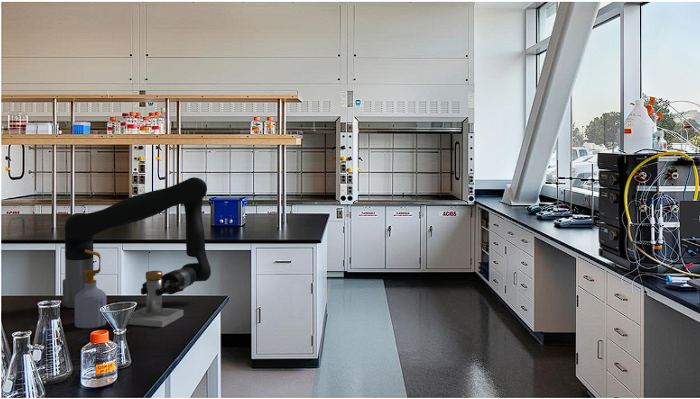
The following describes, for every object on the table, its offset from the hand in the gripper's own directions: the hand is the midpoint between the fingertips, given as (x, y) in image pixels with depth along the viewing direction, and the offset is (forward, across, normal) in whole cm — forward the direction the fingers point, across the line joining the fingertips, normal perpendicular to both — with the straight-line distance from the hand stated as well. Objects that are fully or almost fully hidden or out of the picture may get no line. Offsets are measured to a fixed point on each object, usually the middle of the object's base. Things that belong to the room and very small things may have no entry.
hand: (150, 292), depth 185 cm
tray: (-2, 0, +11) cm, 11 cm away
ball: (+1, -4, +10) cm, 10 cm away
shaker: (-3, 0, +7) cm, 7 cm away
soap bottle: (+8, -16, +11) cm, 21 cm away
